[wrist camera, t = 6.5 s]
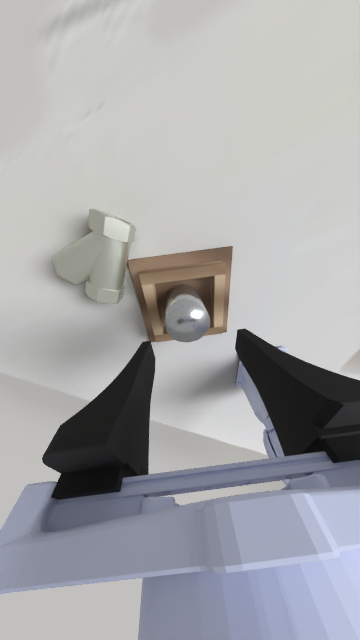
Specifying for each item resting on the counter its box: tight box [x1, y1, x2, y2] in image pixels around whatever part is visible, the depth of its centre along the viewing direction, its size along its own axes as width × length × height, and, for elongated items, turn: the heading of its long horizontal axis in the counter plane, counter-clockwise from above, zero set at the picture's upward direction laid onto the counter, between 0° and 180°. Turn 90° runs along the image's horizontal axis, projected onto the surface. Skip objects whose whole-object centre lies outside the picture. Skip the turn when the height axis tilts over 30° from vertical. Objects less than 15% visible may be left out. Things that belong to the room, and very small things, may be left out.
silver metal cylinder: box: [165, 284, 210, 342], centre depth 17 cm, size 4×4×6 cm
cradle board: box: [127, 246, 233, 342], centre depth 19 cm, size 12×12×3 cm
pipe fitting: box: [52, 209, 136, 304], centre depth 15 cm, size 8×4×7 cm
